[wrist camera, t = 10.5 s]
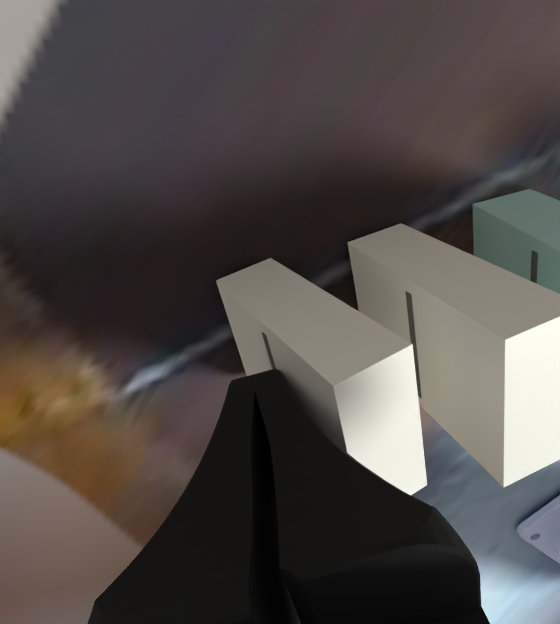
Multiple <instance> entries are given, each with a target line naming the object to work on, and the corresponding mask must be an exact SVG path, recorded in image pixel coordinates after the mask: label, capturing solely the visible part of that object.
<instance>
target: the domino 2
mask: <svg viewBox="0 0 560 624" xmlns="http://www.w3.org/2000/svg"><path fill="white" fill-rule="evenodd" d="M348 249H349V255H350V261H351V267H352V273H353V279H354V285H355V291H356V297H357V303H358V309H359V312H360V313H362V314H364V315H365V316H367V317H369V318H370V319H372V320H374V321H375V322H377V323H378V324H380V325H382V326H383V327H385V328H387V329H388V330H390V331H392V332H393V333H395V334H397V335H398V336H400V337H401V338H403V339H405V340H406V341H408V342H410V343H411V344H413V354H414V363H415V373H416V382H417V392H418V401H419V405H420V406H421V407H422V408H423V409H424V410H425V411H426V412H427V413H428V414H429V415H430V416H431V417H432V418H433V419H434V420H435V421H436V422H437V423H438V424H439V425H440V426H441V427H442V428H443V429H444V430H445V431H447V432H448V433H449V434H450V435H451V436H452V437H453V438H454V439H455V440H456V441H457V442H458V443H459V444H460V445H461V446H462V447H463V448H464V449H465V450H466V451H467V452H468V453H469V454H470V455H471V456H472V457H473V458H474V459H475V460H476V461H477V462H478V463H479V464H480V465H481V466H482V467H483V468H484V469H485V470H486V471H487V472H488V473H489V474H490V475H491V476H492V477H493V478H494V479H495V480H496V481H497V482H498V483H499V484H500V485H501V486H502V487H503V488H504V487H506V486H508V485H510V484H512V483H514V482H516V481H518V480H520V479H522V478H524V477H526V476H528V475H530V474H532V473H534V472H536V471H538V470H540V469H542V468H544V467H546V466H548V465H550V464H552V463H554V462H556V461H558V460H560V294H559V293H556V292H554V291H552V290H550V289H547V288H545V287H543V286H541V285H538V284H536V283H534V282H532V281H529V280H527V279H525V278H523V277H520V276H518V275H516V274H514V273H512V272H509V271H507V270H505V269H503V268H500V267H498V266H496V265H494V264H491V263H489V262H487V261H485V260H482V259H480V258H478V257H476V256H473V255H471V254H469V253H467V252H464V251H462V250H460V249H458V248H456V247H453V246H451V245H449V244H447V243H444V242H442V241H440V240H438V239H435V238H433V237H431V236H429V235H426V234H424V233H422V232H420V231H417V230H415V229H413V228H411V227H408V226H406V225H404V224H402V223H400V224H397V225H395V226H392V227H389V228H386V229H383V230H381V231H378V232H375V233H372V234H369V235H367V236H364V237H361V238H358V239H355V240H353V241H350V242H348Z"/></svg>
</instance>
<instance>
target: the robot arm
mask: <svg viewBox="0 0 560 624" xmlns="http://www.w3.org/2000/svg"><path fill="white" fill-rule="evenodd" d="M517 532H518V534H519V535H520V537H521V538H522V539H524V540H525V541H527V542H528V543H530V544H531V545H533V546H534V547H536V548H537V549H539V550H540V551H542V552H543V553H545V554H546V555H547V556H549V557H550V558H552V559H553V560H555V561H556V562H558V563H559V564H560V495H559V496H558V497H556V498H555V499H554V500H552V501H551V502H549V503H548V504H547V505H545V506H544V507H542V508H541V509H540V510H538V511H537V512H536V513H534V514H533V515H531V516H530V517H529V518H527V519H526V520H524V521H523V522H522V523H520V524H519V525H518V527H517ZM300 623H301V624H490V623H489V621H488V619H487V617H486V615H485V613H484V611H483V609H482V607H481V591H480V573H479V570H478V566H477V563H476V561H475V559H474V557H473V556H472V554H471V552H470V551H469V549H468V548H467V546H466V545H465V544H464V542H463V541H462V539H461V538H460V536H459V535H458V534H457V533H456V531H455V530H454V529H453V528H452V526H451V525H450V524H449V523H448V522H447V520H446V519H445V518H444V517H443V516H442V515H441V513H440V512H439V511H438V510H437V509H436V508H434V507H432V506H430V505H428V504H426V503H424V502H422V501H420V500H418V499H416V498H415V497H413V496H411V495H409V494H407V493H405V492H404V491H402V490H400V489H399V488H397V487H395V486H394V485H392V484H390V483H389V482H387V481H385V480H384V479H382V478H381V477H379V476H378V475H377V474H375V473H374V472H372V471H371V470H369V469H368V468H367V467H365V466H364V465H362V464H361V463H359V462H358V461H357V460H356V459H354V458H353V457H352V456H351V455H349V454H348V453H347V452H346V451H344V450H343V449H342V448H341V447H340V446H339V445H338V444H336V443H335V442H334V441H333V440H332V439H331V438H330V437H329V436H328V435H327V434H326V433H325V432H324V431H323V430H322V429H321V428H320V427H319V426H318V425H317V424H316V423H315V422H314V421H313V419H312V418H311V417H310V416H309V415H308V414H307V413H306V411H305V410H304V409H303V408H302V406H301V405H300V404H299V403H298V401H297V400H296V399H295V397H294V396H293V394H292V393H291V391H290V390H289V388H288V387H287V385H286V383H285V381H284V379H283V377H282V375H281V371H280V370H278V369H276V368H275V369H272V370H268V371H264V372H261V373H257V374H253V375H249V376H246V377H242V378H238V379H235V380H232V381H231V383H230V384H229V388H228V392H227V395H226V399H225V402H224V405H223V408H222V411H221V414H220V417H219V419H218V422H217V425H216V427H215V430H214V432H213V435H212V437H211V440H210V442H209V444H208V446H207V448H206V451H205V453H204V455H203V457H202V459H201V461H200V463H199V465H198V467H197V469H196V471H195V473H194V475H193V477H192V479H191V480H190V482H189V484H188V485H187V487H186V489H185V491H184V492H183V494H182V496H181V497H180V499H179V500H178V502H177V503H176V505H175V506H174V508H173V509H172V511H171V512H170V514H169V515H168V517H167V518H166V520H165V521H164V522H163V524H162V525H161V527H160V528H159V529H158V531H157V532H156V533H155V534H154V536H153V537H152V538H151V539H150V541H149V542H148V543H147V544H146V546H145V547H144V548H143V549H142V551H141V552H140V553H139V554H138V555H137V557H136V558H135V559H134V560H133V561H132V562H131V563H130V565H129V566H128V567H127V568H126V569H125V570H124V571H123V572H122V573H121V574H120V575H119V576H118V577H117V578H116V580H114V582H113V583H112V584H111V585H110V586H109V587H108V588H107V589H106V590H105V591H104V592H103V593H102V594H101V595H100V596H99V597H98V598H97V599H96V600H95V602H94V606H93V609H92V613H91V616H90V618H89V621H88V624H300Z"/></svg>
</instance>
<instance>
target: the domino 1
mask: <svg viewBox="0 0 560 624" xmlns="http://www.w3.org/2000/svg"><path fill="white" fill-rule="evenodd" d="M216 283H217V286H218V289H219V292H220V295H221V298H222V301H223V304H224V307H225V310H226V313H227V317H228V320H229V323H230V326H231V329H232V332H233V335H234V338H235V341H236V344H237V348H238V351H239V354H240V357H241V360H242V363H243V366H244V369H245V372H246V375H247V376H249V375H253V374H257V373H261V372H264V371H268V370H272V369H275V368H276V369H278V370H280V371H281V375H282V377H283V379H284V381H285V383H286V385H287V387H288V388H289V390H290V391H291V393H292V394H293V396H294V397H295V399H296V400H297V401H298V403H299V404H300V405H301V406H302V408H303V409H304V410H305V411H306V413H307V414H308V415H309V416H310V417H311V418H312V419H313V421H314V422H315V423H316V424H317V425H318V426H319V427H320V428H321V429H322V430H323V431H324V432H325V433H326V434H327V435H328V436H329V437H330V438H331V439H332V440H333V441H334V442H335V443H336V444H338V445H339V446H340V447H341V448H342V449H343V450H344V451H346V452H347V453H348V454H349V455H351V456H352V457H353V458H354V459H356V460H357V461H358V462H359V463H361V464H362V465H364V466H365V467H367V468H368V469H369V470H371V471H372V472H374V473H375V474H377V475H378V476H379V477H381V478H382V479H384V480H385V481H387V482H389V483H390V484H392V485H394V486H395V487H397V488H399V489H400V490H402V491H404V492H405V493H407V494H409V495H412V494H414V493H416V492H417V491H419V490H420V489H422V488H423V487H425V486H426V485H427V477H426V468H425V458H424V449H423V439H422V430H421V420H420V411H419V401H418V392H417V382H416V373H415V363H414V354H413V344H411V343H410V342H408V341H406V340H405V339H403V338H401V337H400V336H398V335H397V334H395V333H393V332H392V331H390V330H388V329H387V328H385V327H383V326H382V325H380V324H378V323H377V322H375V321H374V320H372V319H370V318H369V317H367V316H365V315H364V314H362V313H360V312H359V311H357V310H356V309H354V308H352V307H351V306H349V305H347V304H346V303H344V302H342V301H341V300H339V299H337V298H336V297H334V296H333V295H331V294H329V293H328V292H326V291H324V290H323V289H321V288H319V287H318V286H316V285H314V284H313V283H311V282H310V281H308V280H306V279H305V278H303V277H301V276H300V275H298V274H296V273H295V272H293V271H291V270H290V269H288V268H287V267H285V266H283V265H282V264H280V263H278V262H277V261H275V260H273V259H272V258H269V259H267V260H264V261H262V262H259V263H257V264H254V265H252V266H250V267H247V268H245V269H242V270H240V271H238V272H235V273H233V274H230V275H228V276H225V277H223V278H221V279H218V280H216Z"/></svg>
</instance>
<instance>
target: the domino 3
mask: <svg viewBox="0 0 560 624" xmlns="http://www.w3.org/2000/svg"><path fill="white" fill-rule="evenodd" d="M473 243H474V256H476V257H478V258H480V259H482V260H485V261H487V262H489V263H491V264H494V265H496V266H498V267H500V268H503V269H505V270H507V271H509V272H512V273H514V274H516V275H518V276H520V277H523V278H525V279H527V280H529V281H532V282H534V283H536V284H538V285H541V286H543V287H545V288H547V289H550V290H552V291H554V292H556V293H559V294H560V200H557V199H555V198H552V197H550V196H547V195H545V194H542V193H540V192H537V191H535V190H532V189H527V190H523V191H519V192H516V193H512V194H508V195H504V196H500V197H497V198H493V199H489V200H485V201H482V202H478V203H474V204H473Z"/></svg>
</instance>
